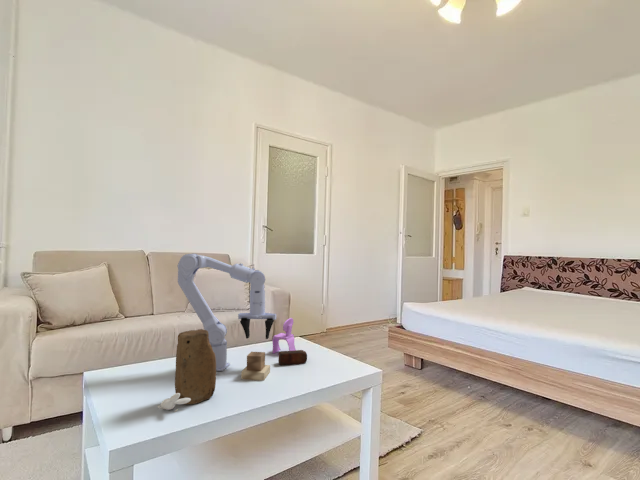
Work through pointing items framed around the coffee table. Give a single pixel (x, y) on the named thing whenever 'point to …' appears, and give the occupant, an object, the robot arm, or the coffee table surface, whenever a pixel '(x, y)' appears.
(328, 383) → the coffee table surface
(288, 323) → the toy chair
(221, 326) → the robot arm
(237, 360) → the coffee table surface
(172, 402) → the rabbit figurine
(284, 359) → the brick
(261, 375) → the oak base
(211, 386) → the brown rounded upright slab
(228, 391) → the coffee table surface
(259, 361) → the walnut cube
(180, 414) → the coffee table surface
